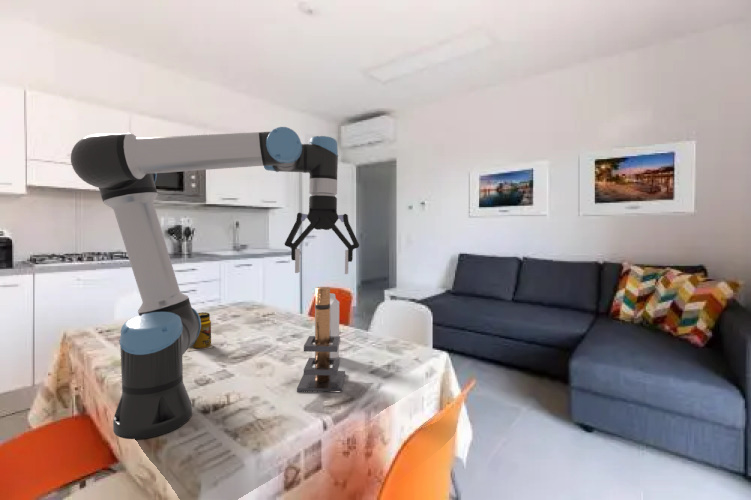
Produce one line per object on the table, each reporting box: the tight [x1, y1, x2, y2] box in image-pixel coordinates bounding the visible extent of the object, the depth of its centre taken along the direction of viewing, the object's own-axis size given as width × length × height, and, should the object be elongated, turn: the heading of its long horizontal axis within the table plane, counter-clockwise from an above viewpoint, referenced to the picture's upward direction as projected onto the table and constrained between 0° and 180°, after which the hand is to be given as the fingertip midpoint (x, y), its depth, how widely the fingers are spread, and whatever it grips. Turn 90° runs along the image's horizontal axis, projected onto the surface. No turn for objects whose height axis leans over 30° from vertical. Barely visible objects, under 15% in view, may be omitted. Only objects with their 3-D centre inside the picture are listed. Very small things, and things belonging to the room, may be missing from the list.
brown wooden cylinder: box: [314, 286, 331, 382], centre depth 104 cm, size 4×4×26 cm
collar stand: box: [296, 335, 346, 393], centre depth 104 cm, size 12×12×13 cm
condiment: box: [186, 311, 214, 352], centre depth 133 cm, size 7×8×12 cm
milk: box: [330, 292, 340, 358], centre depth 123 cm, size 6×6×22 cm
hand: (321, 273), depth 102 cm, fingers open, 13 cm apart
